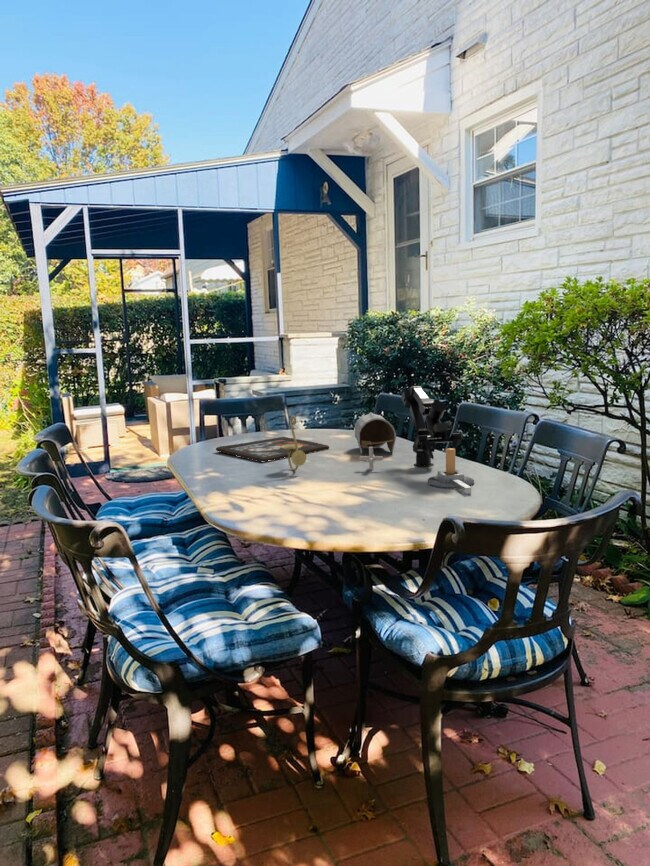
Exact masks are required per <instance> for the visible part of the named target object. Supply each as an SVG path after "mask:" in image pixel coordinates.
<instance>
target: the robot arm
mask: <svg viewBox="0 0 650 866" xmlns="http://www.w3.org/2000/svg"><path fill="white" fill-rule="evenodd" d="M401 402H402V403H403V406H404V407H405V408H407V409H408V410H409V413H410V415H411V416H410V417H411V419H412V424H413V426H414V429H415V433H416V435H415V437H414V442H413V445H412V452H413V453H415V454H416V455H415V463H413V466H417V467H422V468H426V467H429V466H430V465H431V466H434V465H435V464H434V463H433V462H432V460H434V454H433V453H434V452H435V450H436V444H439V443H441V444H442V443H449V445H450V446H449V448H454V449H455V457H456V454H457V453H456V452H457V447H458V446H460V444H461V442H462V440H463V439H464V438H463V434H462V433H461V432H456V433H455V432H454V433H452V432H451V434H450V435H449V436H447V435H448V434H447V433H448V431H449V430H452V428H453V425H452V422H451V421H450V420H449V421H447V420H446V421H445V422H441V419H442V418H443V416H444V413H445V411H446V408H447V405H446V404H445V403H444V402H443V401H440V399H439V398H435V399H432V398H430V397H429V396H428V395H427V394H426V392H425V391H424V389H423V386H421V385H412V386H410V387H409V388H408V389H406V390H403V392H402V393H401ZM424 416H426V417H425V418H424ZM424 420H425V421H424ZM426 426H427V427H426Z"/></svg>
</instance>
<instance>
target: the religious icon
mask: <svg viewBox="0 0 650 866" xmlns="http://www.w3.org/2000/svg"><path fill="white" fill-rule="evenodd" d="M296 441H297V444H298V445H302V447H301V448H298V451H299V450H300V451H303V452H304V453H307V454H310V453H309V452H312V453H315V452H314V451H317V452H320V451H319V450H322V451H325V450H324V449H327V450H329V449H330V446H329V445H328V444H322V443H319V442H314V441H311V440H310V441H309V440H305V439H304V440H303V439H299V438H296ZM289 444H295V442H294V438H292V437H286V436H280V437H275V438H268V439H262V440H255V441H249V442H242V443H237V444H236V443H235V444H230V445H229V444H228V445H220V446H217V447H216V448H215V451H217V452H218V451H221V452H220V453H222V452H224V453H223V454H225V453H228V454H227V455H229V454H232V455H231V456H233V455H237V456H241V457H244V458H243V459H245V458H249V459H253V460H257V461H268V460H274V459H279V460H281V459H280V458H284V457H288V451H289V449H283V448H281V446H283V445H289ZM293 450H294V451H295V452H296V449H293ZM292 454H293V452H292ZM237 456H236V457H237ZM290 456H291V452H290ZM249 459H248V460H249ZM284 459H285V458H284ZM253 460H252V461H253ZM257 461H256V462H257ZM274 461H275V460H274Z"/></svg>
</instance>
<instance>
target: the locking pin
mask: <svg viewBox="0 0 650 866" xmlns="http://www.w3.org/2000/svg"><path fill="white" fill-rule="evenodd" d="M455 470H456V456H455V449H454V448H450V447H449V448H446V449H445V471H446V475H450V474H455Z"/></svg>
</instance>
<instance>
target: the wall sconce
mask: <svg viewBox="0 0 650 866" xmlns="http://www.w3.org/2000/svg"><path fill="white" fill-rule="evenodd" d="M289 419H290V420H289V422H290V423H289V424H290V429H291V433H292V437H293V438H294V442H295V444H289V445H283V446H281V448H283V449H289V451H288V458H287V459H288V460H287V462H288V465H289V468H290V469H291V470H292V471H293V470H294V471H293V472H296V471H297V470H298V468H299V467H300V466H303V465H304V464H305V463H306V461H307V454H305V453H304V452H303V451H300V450H299V451H298V448H301V447H302V445H298V444H297V441H296V439H297V437H296V435H295V434H296V433H295V431H294V426H293V425H295V426H296V424H297V418H296V416H295V415H294V414H293V415H291V416H290V418H289ZM293 449H296V452H295V451H294V450H293ZM290 452H291V456H292V457H290ZM292 452H293V454H292ZM292 463H293V465H295V468H294V467H293V465H292Z"/></svg>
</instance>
